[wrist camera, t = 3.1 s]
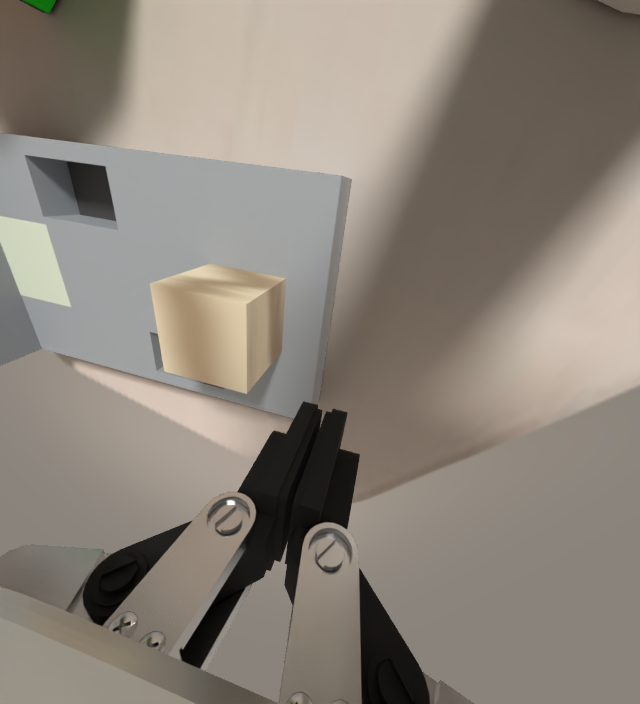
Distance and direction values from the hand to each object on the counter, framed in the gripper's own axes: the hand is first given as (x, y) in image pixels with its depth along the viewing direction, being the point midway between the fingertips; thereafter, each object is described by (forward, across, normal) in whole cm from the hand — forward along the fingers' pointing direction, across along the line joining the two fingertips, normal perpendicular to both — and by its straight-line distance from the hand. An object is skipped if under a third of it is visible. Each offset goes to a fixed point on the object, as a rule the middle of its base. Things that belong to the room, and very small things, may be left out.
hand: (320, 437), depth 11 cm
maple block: (+8, +7, -1) cm, 11 cm away
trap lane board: (+12, +15, -1) cm, 19 cm away
